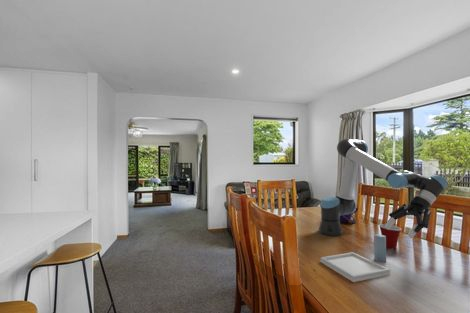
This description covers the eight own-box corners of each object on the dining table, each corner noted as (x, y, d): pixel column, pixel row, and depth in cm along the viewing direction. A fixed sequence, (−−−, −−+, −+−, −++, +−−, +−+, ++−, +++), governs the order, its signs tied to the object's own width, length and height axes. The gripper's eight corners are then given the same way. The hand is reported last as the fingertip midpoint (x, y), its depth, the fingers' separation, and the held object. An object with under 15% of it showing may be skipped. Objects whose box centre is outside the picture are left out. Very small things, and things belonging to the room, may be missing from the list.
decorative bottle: (357, 226, 173) (357, 193, 173) (327, 223, 183) (327, 191, 184) (358, 220, 193) (358, 189, 193) (331, 217, 203) (330, 188, 203)
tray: (320, 261, 114) (320, 257, 114) (352, 256, 120) (352, 252, 120) (353, 282, 95) (353, 276, 95) (389, 274, 101) (389, 269, 101)
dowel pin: (371, 259, 117) (371, 234, 117) (379, 257, 118) (379, 233, 119) (381, 263, 112) (380, 238, 112) (388, 261, 114) (388, 236, 114)
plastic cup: (405, 251, 126) (405, 229, 126) (383, 250, 128) (383, 228, 128) (396, 244, 137) (396, 224, 137) (376, 243, 139) (375, 223, 139)
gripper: (453, 211, 107) (426, 246, 104) (405, 201, 131) (382, 229, 129) (443, 199, 106) (415, 234, 103) (397, 192, 131) (373, 220, 128)
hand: (397, 232), depth 116 cm, fingers open, 13 cm apart
